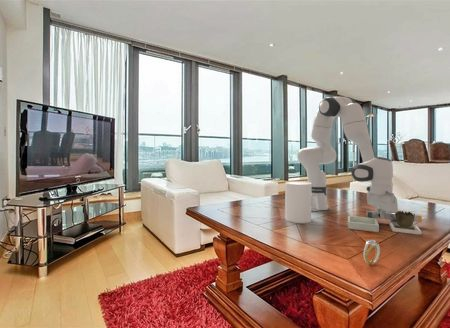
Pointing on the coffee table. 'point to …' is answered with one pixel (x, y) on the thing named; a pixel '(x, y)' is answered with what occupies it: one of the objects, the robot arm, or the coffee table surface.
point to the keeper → (416, 231)
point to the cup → (404, 219)
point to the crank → (390, 216)
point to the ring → (366, 252)
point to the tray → (363, 223)
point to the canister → (298, 201)
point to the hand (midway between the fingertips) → (380, 217)
